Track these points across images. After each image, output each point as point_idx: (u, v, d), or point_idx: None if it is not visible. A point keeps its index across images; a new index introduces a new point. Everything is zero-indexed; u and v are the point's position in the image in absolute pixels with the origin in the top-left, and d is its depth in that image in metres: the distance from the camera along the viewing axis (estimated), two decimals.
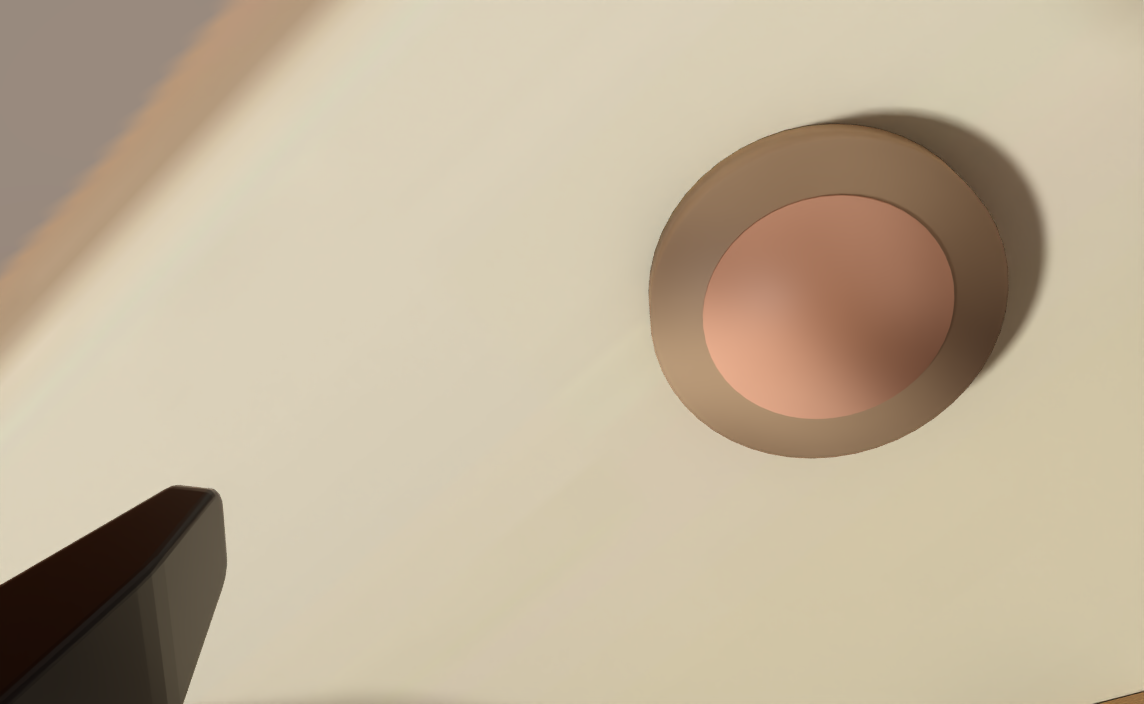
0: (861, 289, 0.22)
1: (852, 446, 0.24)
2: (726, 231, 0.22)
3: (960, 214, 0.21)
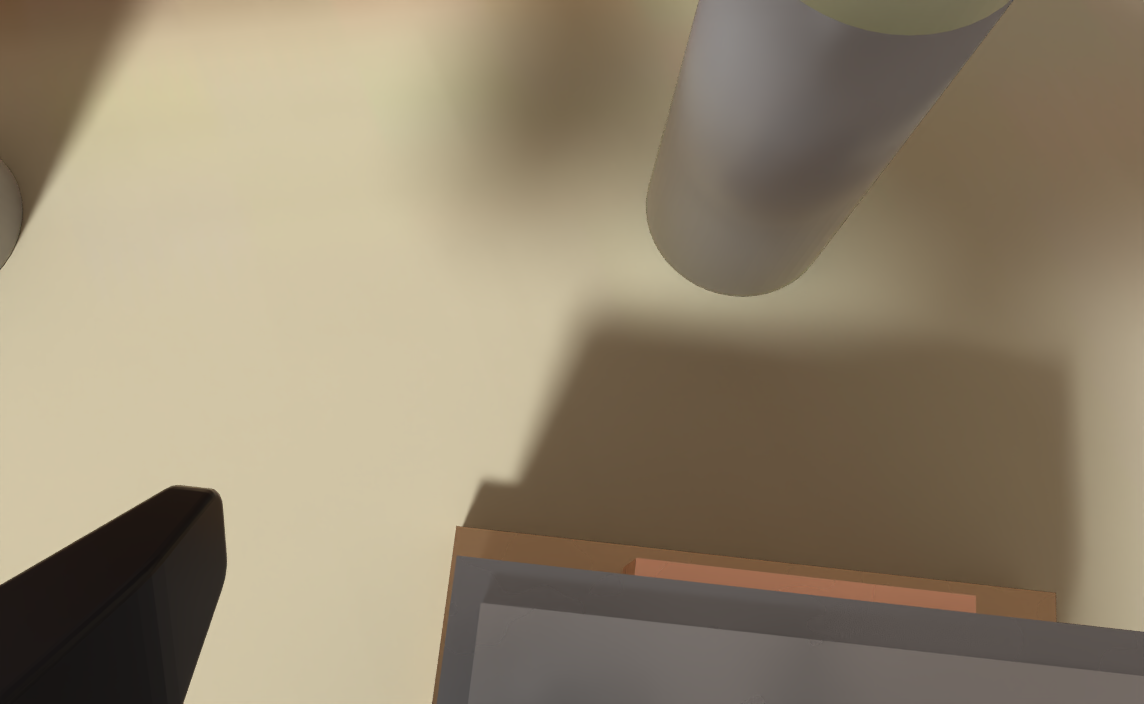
0: None
1: None
2: None
3: None
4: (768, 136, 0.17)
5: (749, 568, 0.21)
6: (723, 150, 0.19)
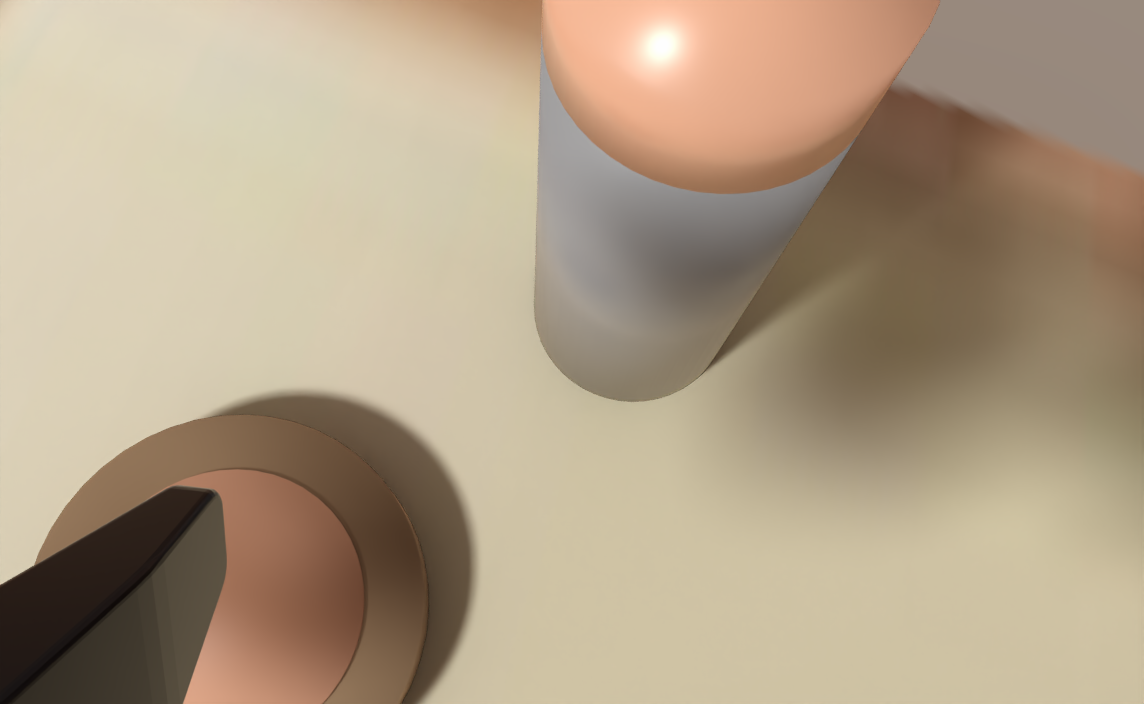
0: (243, 563, 0.20)
1: None
2: None
3: (296, 446, 0.21)
4: None
5: None
6: None
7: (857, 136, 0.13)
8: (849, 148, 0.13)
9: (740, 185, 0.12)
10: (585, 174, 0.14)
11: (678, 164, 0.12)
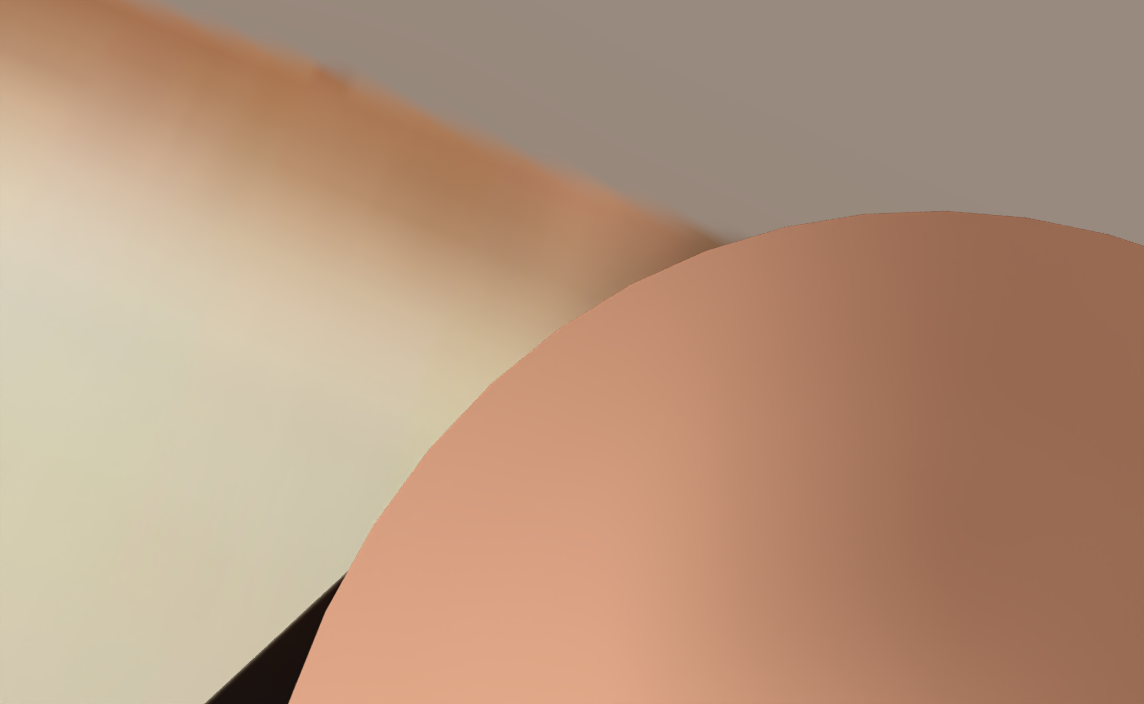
0: None
1: None
2: None
3: None
4: None
5: None
6: None
7: None
8: None
9: None
10: None
11: None
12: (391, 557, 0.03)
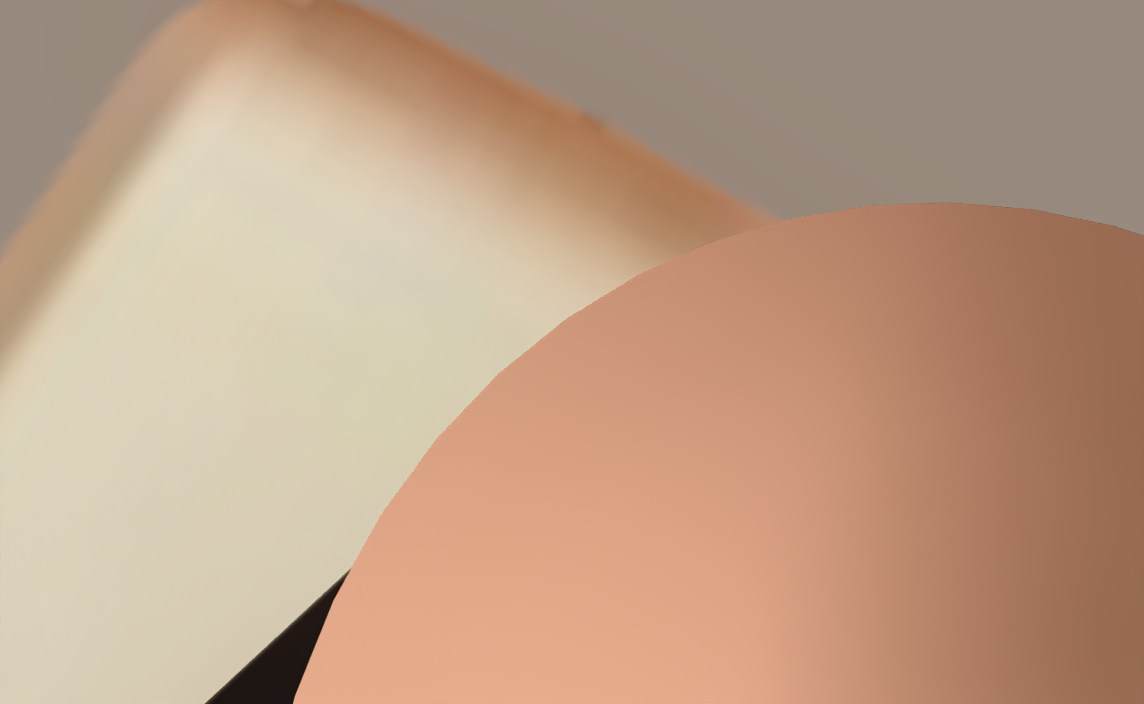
0: None
1: None
2: None
3: None
4: None
5: None
6: None
7: None
8: None
9: None
10: None
11: None
12: (398, 546, 0.03)
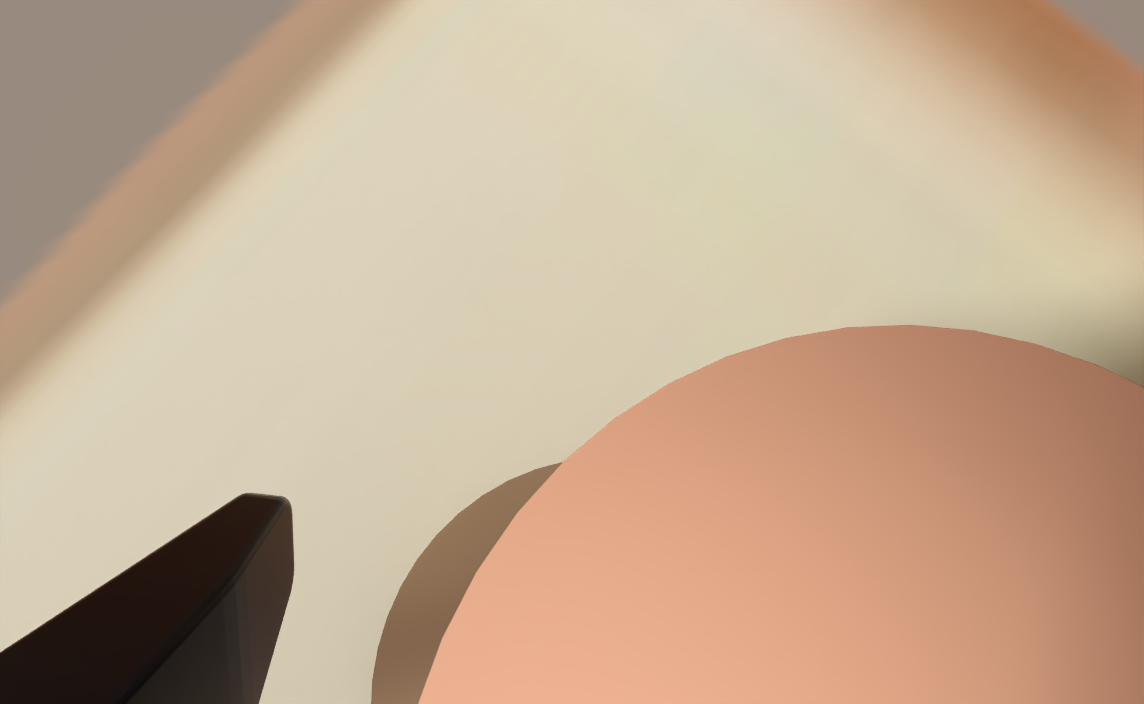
0: None
1: None
2: (452, 603, 0.17)
3: None
4: None
5: None
6: None
7: None
8: None
9: None
10: None
11: None
12: (490, 596, 0.04)
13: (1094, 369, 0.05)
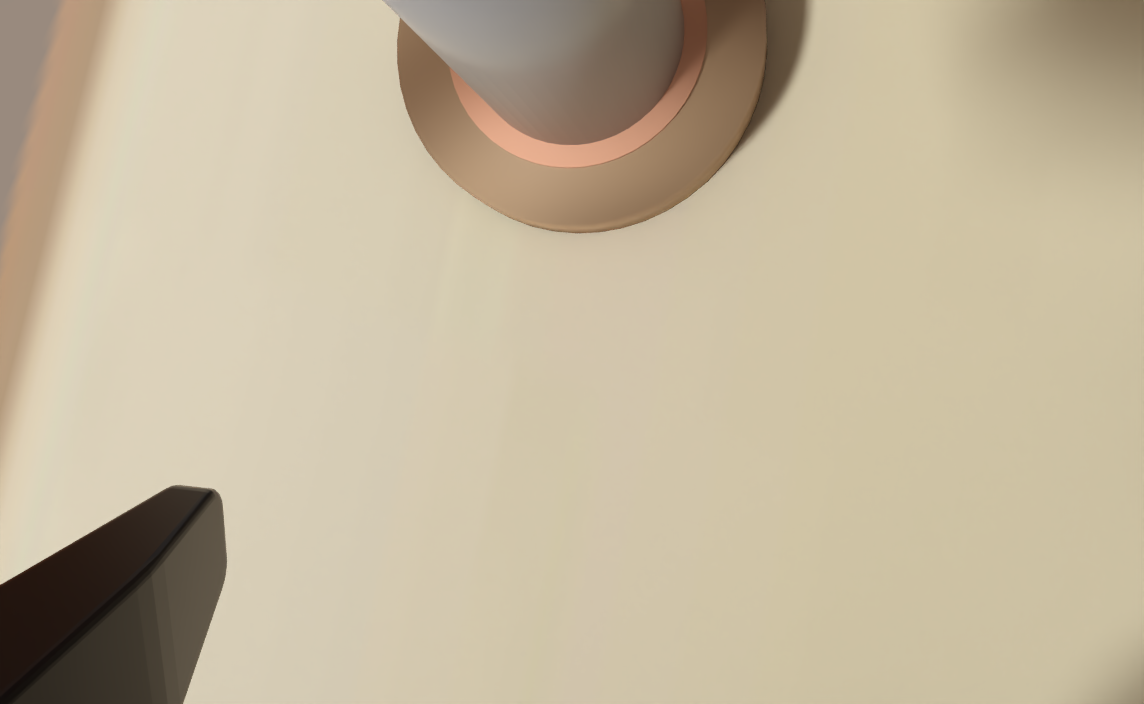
0: None
1: (710, 146, 0.21)
2: None
3: None
4: None
5: None
6: None
7: None
8: None
9: None
10: None
11: None
12: None
13: None
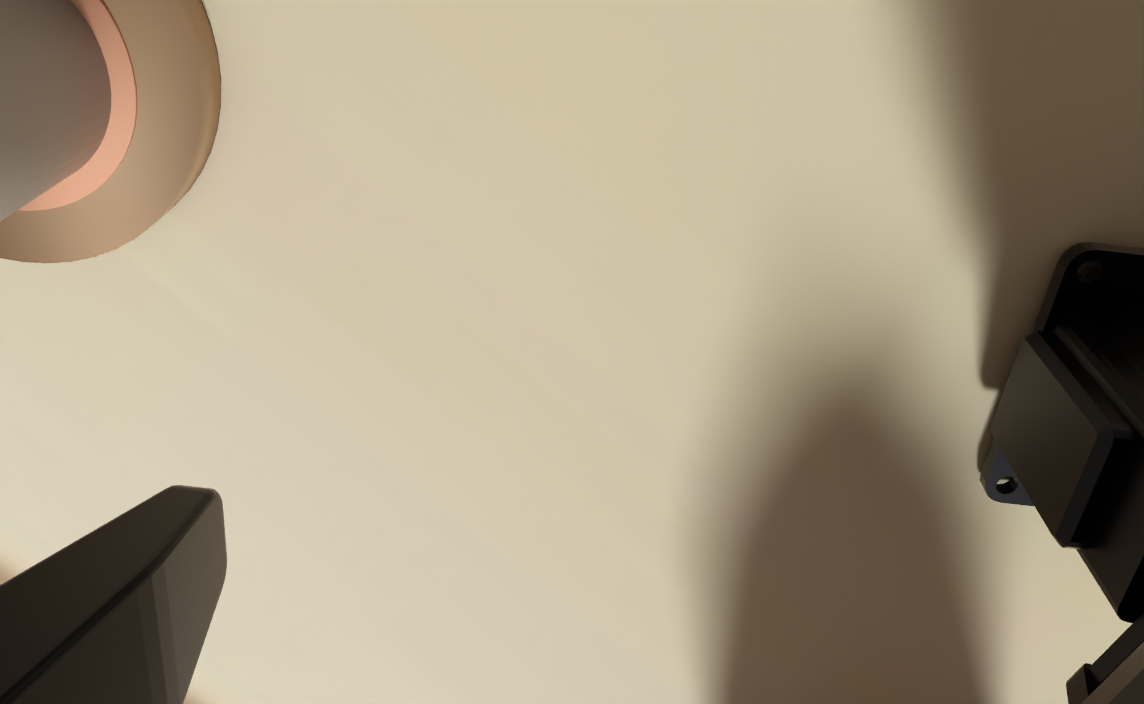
0: None
1: (166, 15, 0.19)
2: None
3: None
4: None
5: None
6: None
7: None
8: None
9: None
10: None
11: None
12: None
13: None
